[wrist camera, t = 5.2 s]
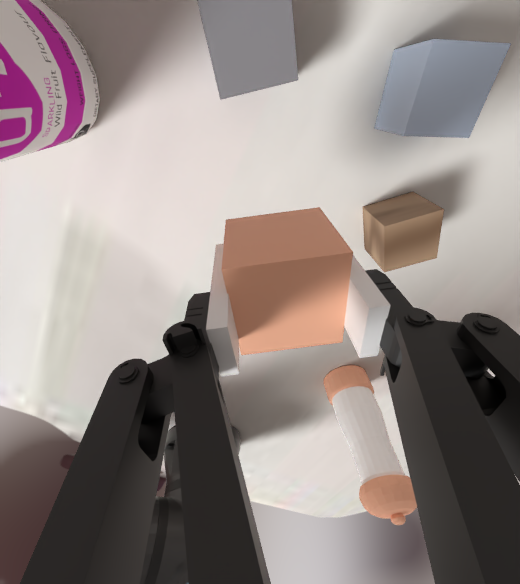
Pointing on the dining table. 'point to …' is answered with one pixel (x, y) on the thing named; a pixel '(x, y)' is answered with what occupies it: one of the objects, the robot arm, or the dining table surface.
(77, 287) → the dining table surface
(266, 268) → the terracotta cube
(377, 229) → the walnut cube
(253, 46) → the charcoal cube
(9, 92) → the supplement can
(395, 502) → the pepper shaker
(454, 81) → the slate blue cube
